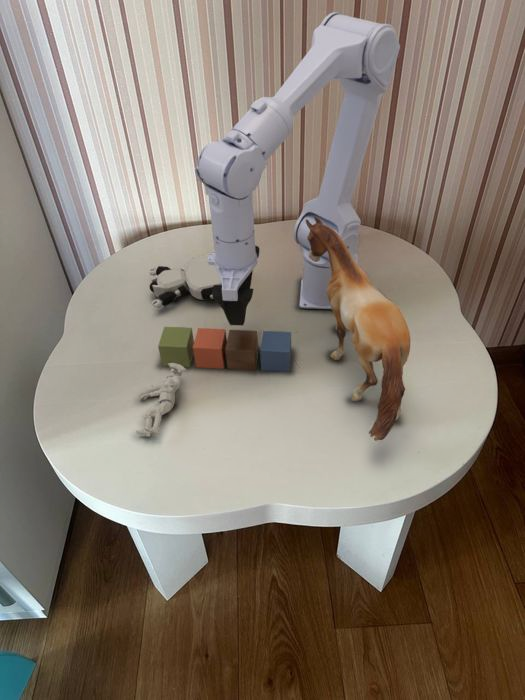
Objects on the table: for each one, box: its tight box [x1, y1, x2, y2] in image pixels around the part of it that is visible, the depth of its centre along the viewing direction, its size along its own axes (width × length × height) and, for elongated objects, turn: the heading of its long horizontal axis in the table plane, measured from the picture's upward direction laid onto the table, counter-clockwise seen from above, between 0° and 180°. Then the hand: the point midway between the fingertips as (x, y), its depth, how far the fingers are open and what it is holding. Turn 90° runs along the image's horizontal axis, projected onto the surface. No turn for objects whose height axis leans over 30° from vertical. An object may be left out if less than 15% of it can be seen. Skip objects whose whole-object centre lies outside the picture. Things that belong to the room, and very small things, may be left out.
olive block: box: [157, 326, 195, 368], centre depth 91 cm, size 4×4×4 cm
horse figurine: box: [306, 216, 411, 441], centre depth 80 cm, size 31×8×21 cm, turn 14°
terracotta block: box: [193, 327, 228, 370], centre depth 90 cm, size 4×4×4 cm
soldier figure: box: [135, 363, 187, 438], centre depth 83 cm, size 8×5×12 cm
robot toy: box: [148, 251, 222, 309], centre depth 103 cm, size 12×4×15 cm
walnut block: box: [225, 329, 259, 371], centre depth 90 cm, size 4×4×4 cm
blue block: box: [259, 330, 292, 373], centre depth 89 cm, size 4×4×4 cm
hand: (239, 306), depth 86 cm, fingers open, 7 cm apart
